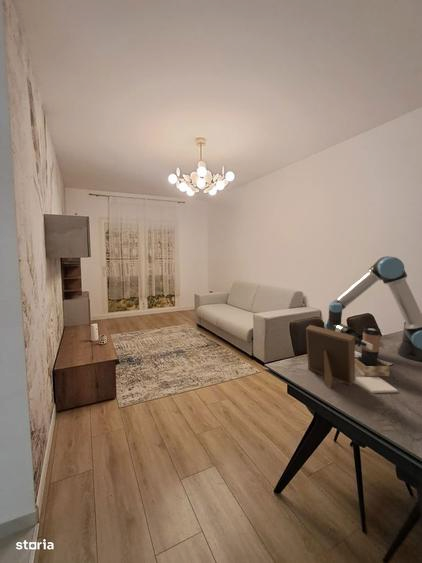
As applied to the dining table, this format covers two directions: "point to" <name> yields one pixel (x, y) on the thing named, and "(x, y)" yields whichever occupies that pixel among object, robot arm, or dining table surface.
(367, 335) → the travel mug
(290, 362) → the dining table surface
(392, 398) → the dining table surface
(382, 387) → the pad
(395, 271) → the robot arm
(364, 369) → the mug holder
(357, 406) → the dining table surface
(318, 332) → the photo frame
